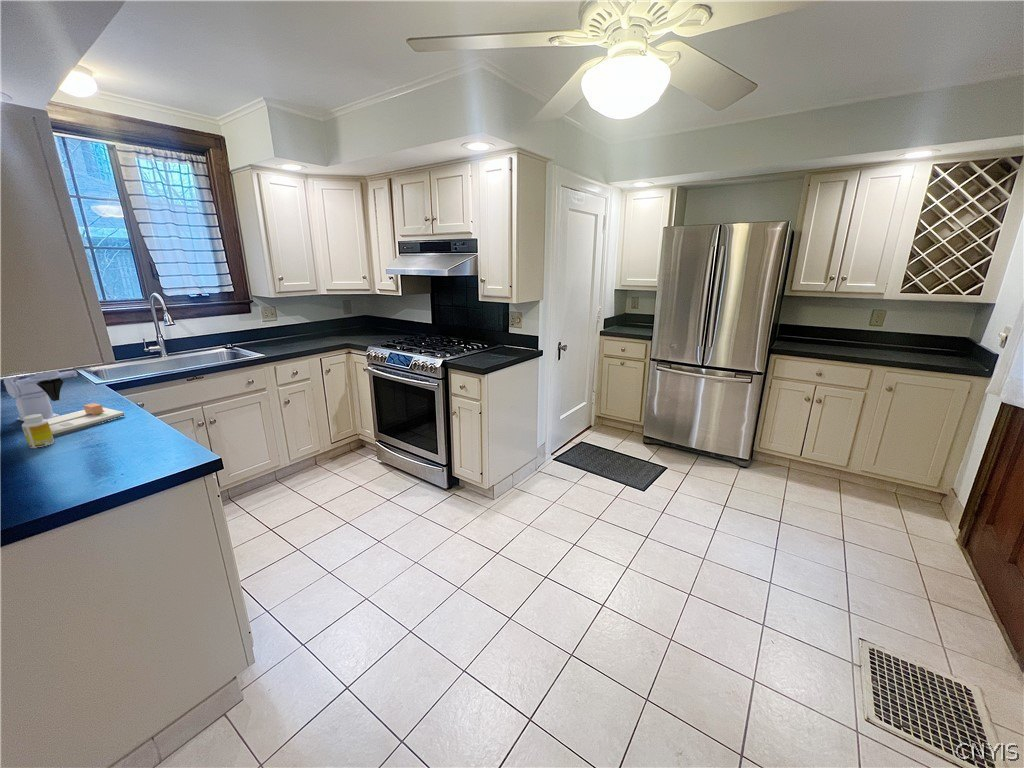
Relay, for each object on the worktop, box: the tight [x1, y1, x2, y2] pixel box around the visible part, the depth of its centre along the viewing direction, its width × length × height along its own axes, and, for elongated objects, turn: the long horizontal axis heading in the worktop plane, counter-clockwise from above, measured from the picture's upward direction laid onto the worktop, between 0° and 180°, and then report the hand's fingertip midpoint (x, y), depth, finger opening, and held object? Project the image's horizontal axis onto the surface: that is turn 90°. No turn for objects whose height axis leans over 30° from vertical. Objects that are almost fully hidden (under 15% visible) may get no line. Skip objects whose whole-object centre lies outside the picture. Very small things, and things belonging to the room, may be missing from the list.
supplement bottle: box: [21, 414, 55, 449], centre depth 130 cm, size 6×6×10 cm
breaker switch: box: [83, 402, 103, 415], centre depth 153 cm, size 5×3×4 cm, turn 70°
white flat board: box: [45, 406, 126, 437], centre depth 149 cm, size 16×20×2 cm
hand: (55, 400), depth 145 cm, fingers closed
